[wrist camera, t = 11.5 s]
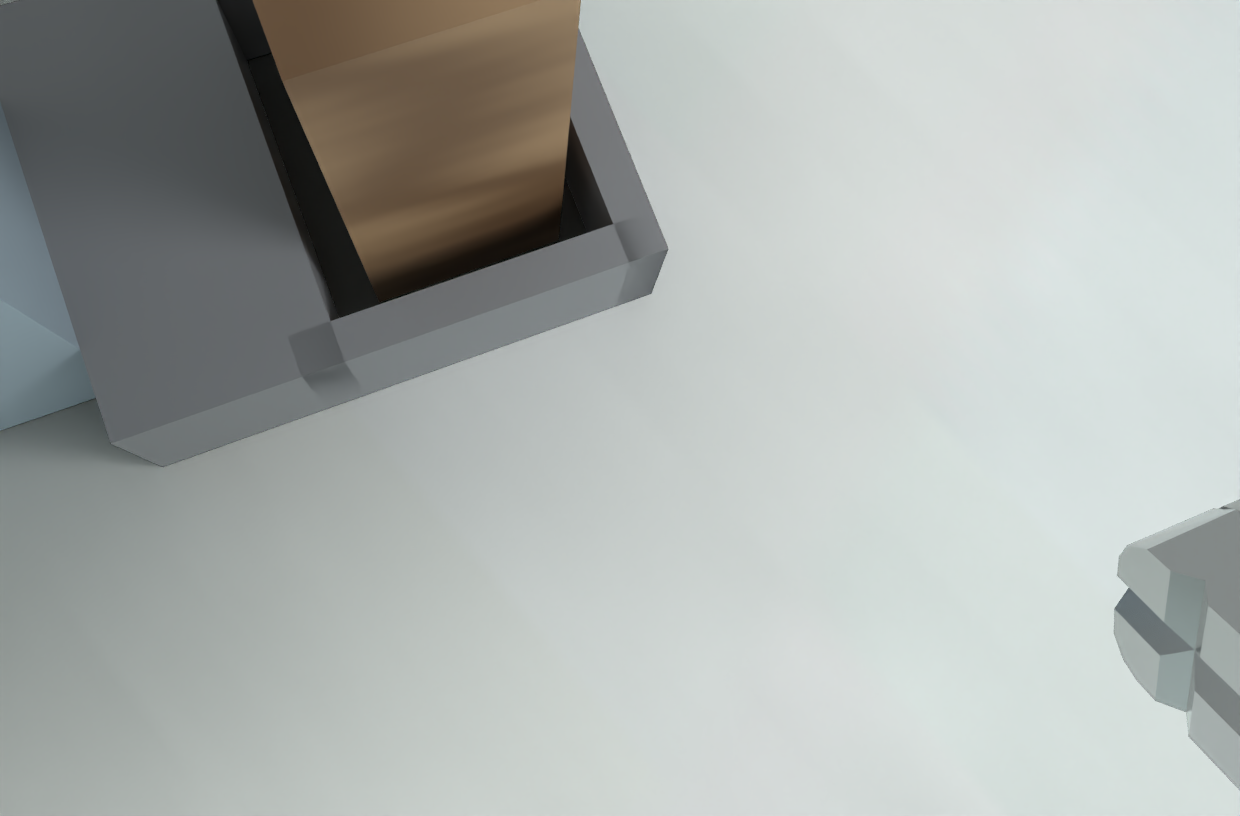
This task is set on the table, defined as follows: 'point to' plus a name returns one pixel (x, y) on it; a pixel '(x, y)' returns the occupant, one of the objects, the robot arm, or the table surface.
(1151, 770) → the table surface
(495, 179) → the brown rectangular block
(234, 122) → the grey l-shaped post
